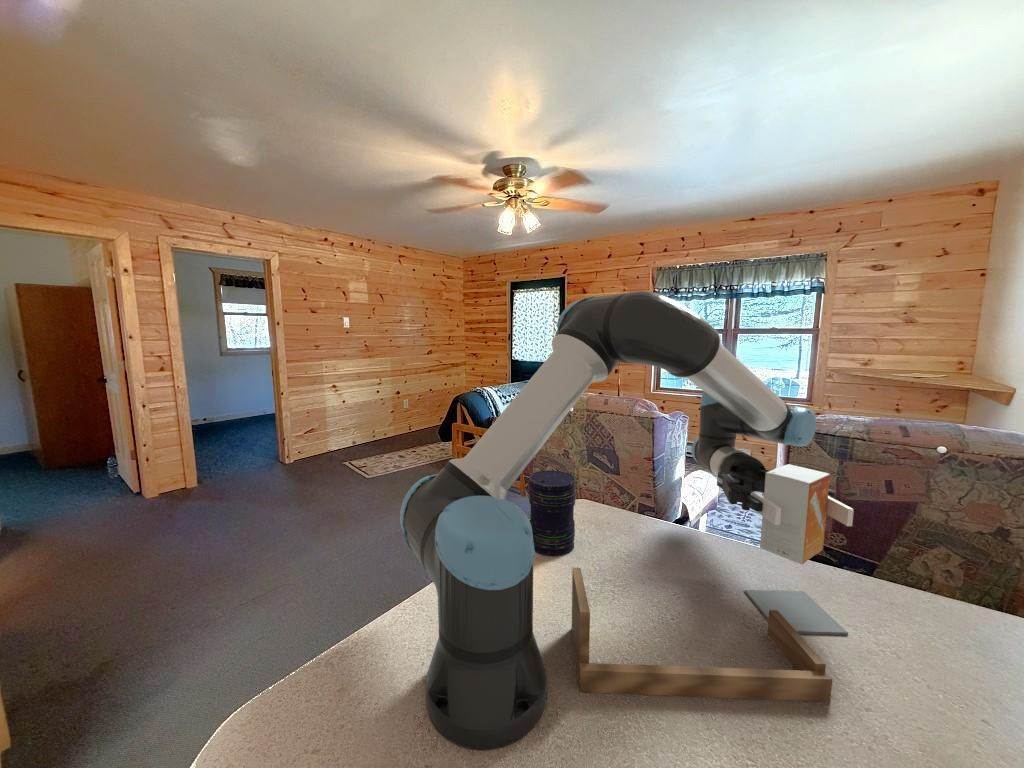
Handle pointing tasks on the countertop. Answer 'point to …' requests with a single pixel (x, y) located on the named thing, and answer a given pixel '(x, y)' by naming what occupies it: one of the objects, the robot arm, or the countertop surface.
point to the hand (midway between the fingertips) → (814, 517)
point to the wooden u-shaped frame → (702, 681)
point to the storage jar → (552, 512)
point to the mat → (796, 611)
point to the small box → (796, 512)
